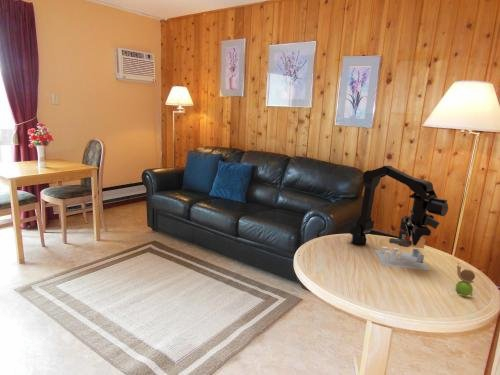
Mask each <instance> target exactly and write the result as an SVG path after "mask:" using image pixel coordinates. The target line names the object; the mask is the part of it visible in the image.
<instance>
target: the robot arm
mask: <svg viewBox="0 0 500 375" xmlns="http://www.w3.org/2000/svg"><path fill="white" fill-rule="evenodd" d="M387 176H388V177H390V178H392V179H394V180H396V181H398V183H399V182H400V183H402V184H403V185H405V186H406V187H408V188H409V189H410V191H412V192H413V193H412V194H410V195H408V197H409V198H411V199H413V202H412V207H411V209H410V210H409V212H410V215H404V216H403V217H404V219H403V221H404V222H405V223H406V222H407V221H408V223H407V224H405V225H406V228H407V231H408V235H409V239H410V236H412V242H413V245H415V246H416V245H417V243H418V241H419V239H420V238H421V237H423V236H427V237H429V236H431V234H432V231H431V229H430V228H429V227H431V228H433V230H434V229H435V230H436V229H437V228H439V225H440V222H439V221H438V220H437V219H435V217H434V215H437V216H440V217H445V216H446V215H447V214H448V211H449V204H448V200H447V199H441V198H438V195H437V194H436V191H435V190H434V185H433V183H432V182H431V181H429V180H426V179H423V178H417V177H413V176H412V175H409V174H408V173H405V172H403V171H401V170H398V169H397V168H395V167H393V166H392V165H383V166H380V167H379V168H376V169H369V170H365V171H364V172H363V174H362V183H363V186H364V191H363V198H362V204H361V208H360V209H361V210H360V215H359V217H358V218H357V219H356V222H355V224H354V227H352V228H350V229H349V234H350V235H351V240H350V242H351V244H352V245H355V246H358V247H359V246H366V244H367V240H368V239H367V235H368V234H369V233H370V232H372V230H373V229H374V227H375V226H374V224H375V220H374V219H372V209H373V203H374V197H375V192H376V189H377V187H378V186H379V184H380V181H381V179H382V178H384V177H387ZM427 212H428V213H427ZM433 214H434V215H433ZM428 226H429V227H428Z"/></svg>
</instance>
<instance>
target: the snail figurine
mask: <svg viewBox="0 0 500 375" xmlns="http://www.w3.org/2000/svg"><path fill="white" fill-rule="evenodd" d="M456 272H457V276H458V278H459V280H460V281H458V282H457V283H456V285H455V289H456V291H457V292H458V293H459V295H461V294H462V296H469V295H471V294H472V293H473V289H474V288H473V285H472V283H474V282H475V281H474V279H475V278H476V275H475V273H474V271H473V270H471V269H467V268H465V269H463V270H462V266H460V262H457V266H456Z"/></svg>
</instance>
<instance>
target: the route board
mask: <svg viewBox="0 0 500 375" xmlns="http://www.w3.org/2000/svg"><path fill="white" fill-rule="evenodd" d="M389 251H390V250H389ZM374 252H375V253H376V256H377V258H378V260H379V261H380V263H381V265H382V266H387V267H396V268H403V269H412V270H420V271H429V272H430V271H431V269H430V268H429V267H428V265H427V264H425V262H424V261H423V263H420V262H417V257H416V256H412V253H410V252H401V253H402V255H401V260H400V259H396V255H393V250H391V251H390V258H385V257H384V256H385V254H384V253H382V249H374Z"/></svg>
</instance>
